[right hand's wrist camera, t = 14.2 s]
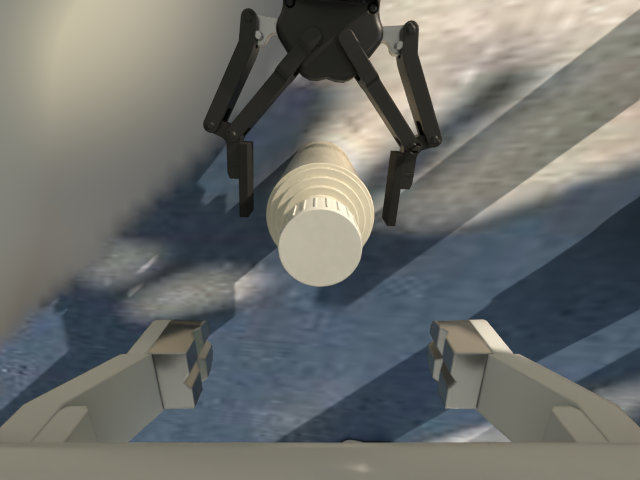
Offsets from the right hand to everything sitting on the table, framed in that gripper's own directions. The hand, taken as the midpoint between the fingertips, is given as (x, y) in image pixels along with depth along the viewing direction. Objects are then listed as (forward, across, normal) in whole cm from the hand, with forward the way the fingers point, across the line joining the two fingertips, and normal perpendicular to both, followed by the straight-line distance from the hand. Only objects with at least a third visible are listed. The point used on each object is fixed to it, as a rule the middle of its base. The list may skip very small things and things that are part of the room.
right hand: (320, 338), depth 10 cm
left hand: (+23, 0, -3) cm, 23 cm away
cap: (+7, 0, 0) cm, 7 cm away
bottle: (+30, 0, 0) cm, 30 cm away
